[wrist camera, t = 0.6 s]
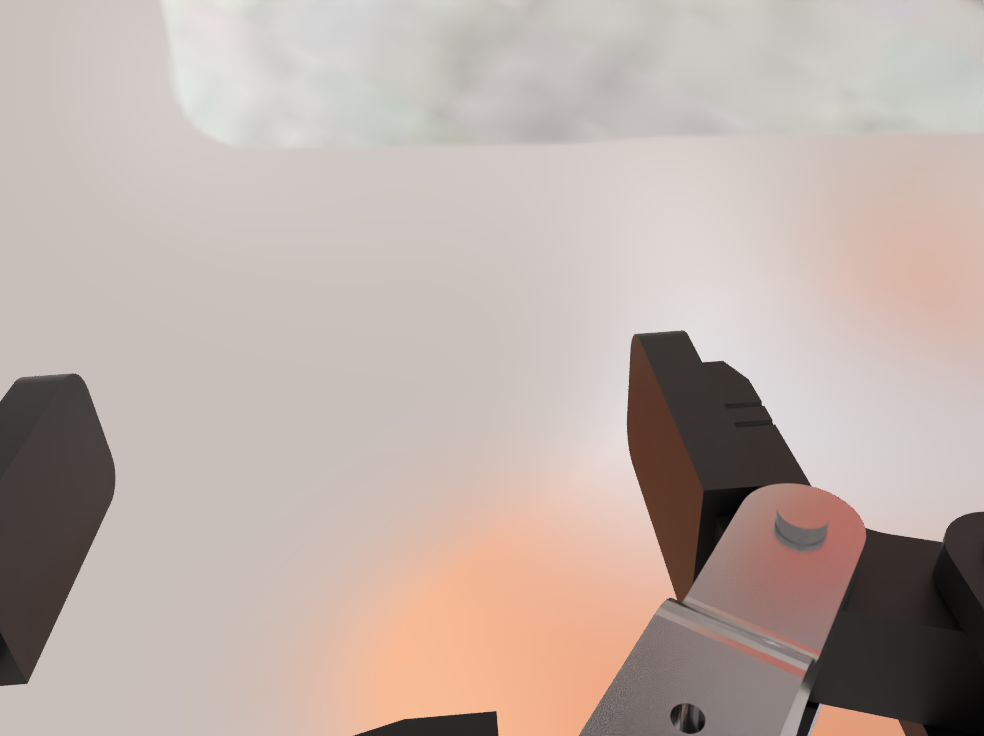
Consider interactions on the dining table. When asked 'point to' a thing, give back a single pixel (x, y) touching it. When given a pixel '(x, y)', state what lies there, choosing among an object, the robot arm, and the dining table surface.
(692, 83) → the dining table surface
